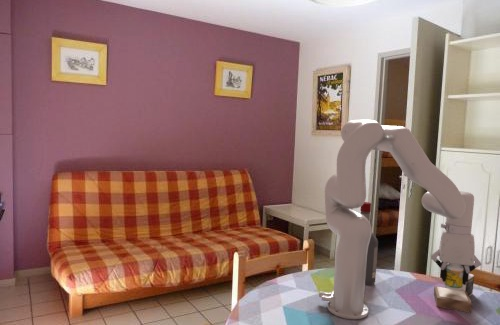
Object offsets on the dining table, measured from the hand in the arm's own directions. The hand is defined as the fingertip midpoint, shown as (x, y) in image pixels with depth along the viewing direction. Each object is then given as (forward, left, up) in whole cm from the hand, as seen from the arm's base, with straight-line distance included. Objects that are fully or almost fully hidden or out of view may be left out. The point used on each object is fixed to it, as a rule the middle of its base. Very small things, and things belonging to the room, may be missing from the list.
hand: (453, 281), depth 130 cm
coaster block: (0, 0, -8) cm, 8 cm away
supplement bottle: (0, 0, -2) cm, 2 cm away
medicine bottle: (+3, +10, -8) cm, 13 cm away
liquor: (-30, +6, -8) cm, 32 cm away
